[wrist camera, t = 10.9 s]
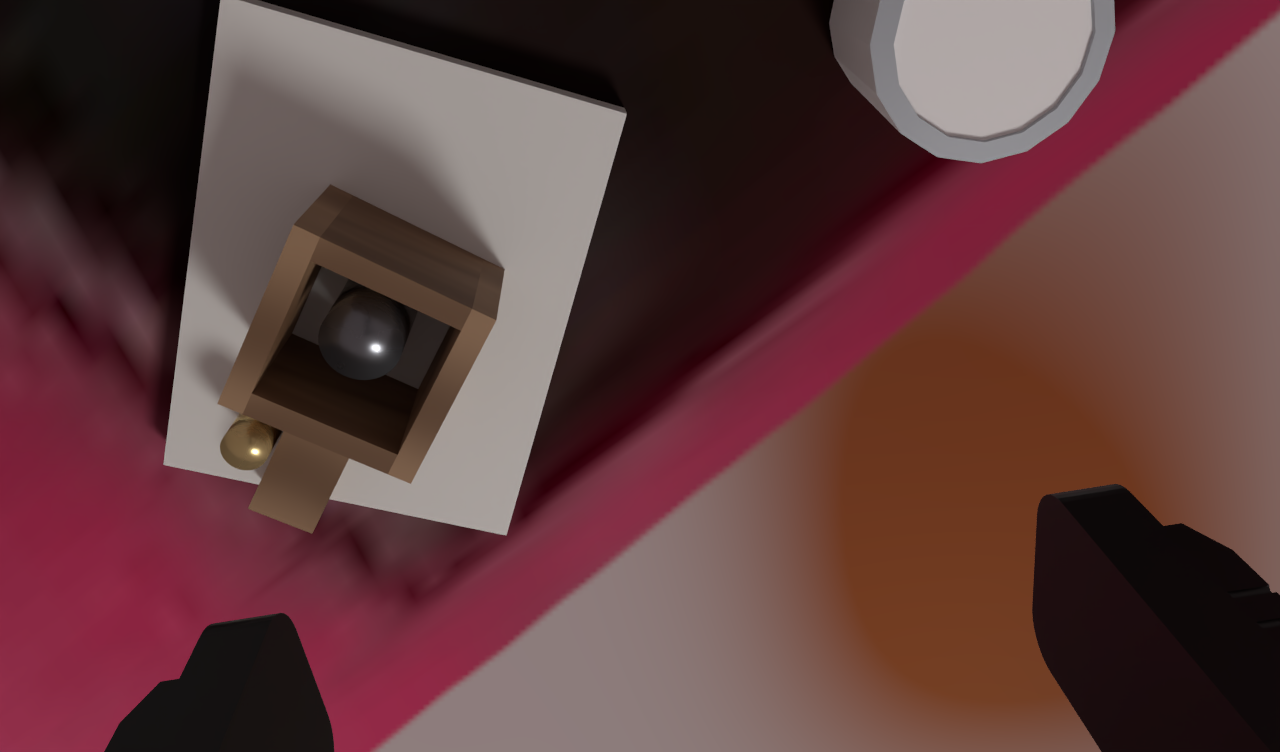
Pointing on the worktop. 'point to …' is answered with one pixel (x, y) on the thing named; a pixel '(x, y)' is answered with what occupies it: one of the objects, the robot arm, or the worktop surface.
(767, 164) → the worktop surface
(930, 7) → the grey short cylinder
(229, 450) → the dowel
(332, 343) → the post
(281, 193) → the board
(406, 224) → the open wooden box
